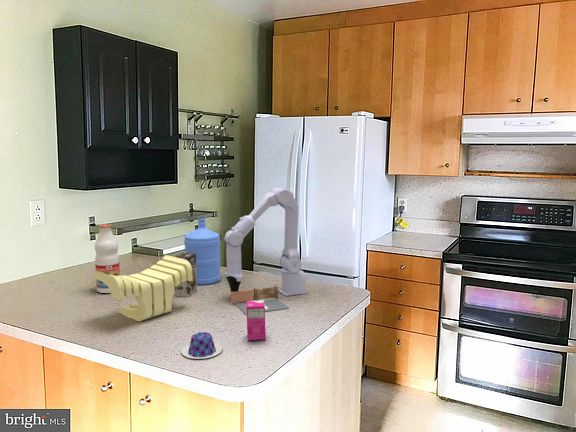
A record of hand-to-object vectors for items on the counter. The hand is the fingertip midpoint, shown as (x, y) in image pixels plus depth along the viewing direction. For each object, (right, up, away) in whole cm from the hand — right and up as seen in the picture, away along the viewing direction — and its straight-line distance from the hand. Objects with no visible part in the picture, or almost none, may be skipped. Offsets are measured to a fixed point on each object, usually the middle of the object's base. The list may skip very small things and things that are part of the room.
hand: (234, 294), depth 189 cm
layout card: (+10, -3, -5) cm, 12 cm away
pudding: (-4, -10, -47) cm, 48 cm away
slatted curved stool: (-30, -5, -15) cm, 34 cm away
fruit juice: (-54, -1, +11) cm, 55 cm away
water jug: (-17, +2, +27) cm, 32 cm away
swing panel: (+3, -2, -4) cm, 6 cm away
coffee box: (-21, -1, +8) cm, 22 cm away
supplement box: (+11, -8, -38) cm, 40 cm away
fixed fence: (+12, -2, 0) cm, 13 cm away
